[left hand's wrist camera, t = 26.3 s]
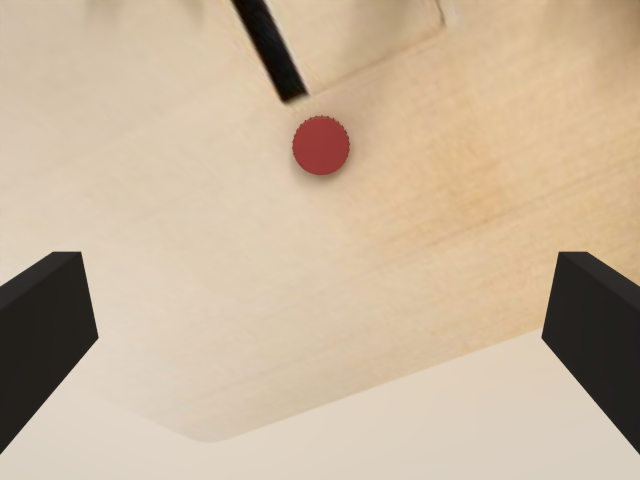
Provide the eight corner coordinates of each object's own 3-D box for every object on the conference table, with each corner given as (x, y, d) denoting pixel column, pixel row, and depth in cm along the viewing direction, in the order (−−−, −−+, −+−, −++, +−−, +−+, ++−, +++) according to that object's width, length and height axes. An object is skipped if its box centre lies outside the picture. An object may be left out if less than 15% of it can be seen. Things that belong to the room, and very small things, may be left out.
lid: (350, 116, 40) (351, 118, 38) (346, 172, 42) (348, 176, 40) (293, 114, 40) (292, 116, 38) (293, 170, 42) (291, 174, 40)
